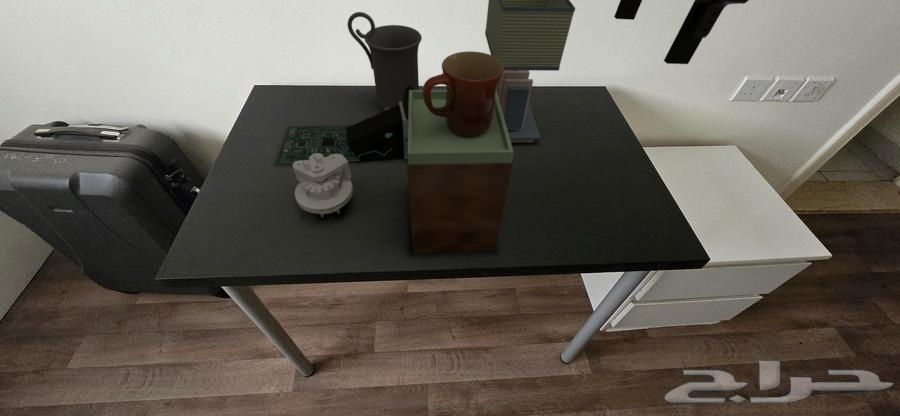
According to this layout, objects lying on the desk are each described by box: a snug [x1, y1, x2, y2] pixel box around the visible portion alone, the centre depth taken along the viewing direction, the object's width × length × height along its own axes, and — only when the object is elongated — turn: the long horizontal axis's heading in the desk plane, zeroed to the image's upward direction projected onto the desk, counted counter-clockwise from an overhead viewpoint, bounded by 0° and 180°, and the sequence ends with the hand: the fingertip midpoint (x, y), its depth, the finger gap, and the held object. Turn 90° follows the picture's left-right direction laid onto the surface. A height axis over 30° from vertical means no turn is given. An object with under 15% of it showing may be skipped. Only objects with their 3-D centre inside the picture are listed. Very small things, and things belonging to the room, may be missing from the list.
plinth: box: [406, 103, 514, 255], centre depth 67 cm, size 16×18×22 cm
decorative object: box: [346, 86, 415, 162], centre depth 83 cm, size 8×18×15 cm, turn 102°
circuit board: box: [278, 125, 361, 164], centre depth 90 cm, size 14×20×1 cm
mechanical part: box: [292, 153, 354, 218], centre depth 72 cm, size 11×12×12 cm
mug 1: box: [347, 11, 423, 112], centre depth 93 cm, size 19×15×25 cm
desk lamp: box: [484, 0, 576, 144], centre depth 86 cm, size 18×14×33 cm
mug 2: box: [422, 50, 504, 137], centre depth 55 cm, size 12×9×10 cm
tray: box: [408, 89, 515, 165], centre depth 59 cm, size 15×17×2 cm
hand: (647, 38), depth 47 cm, fingers open, 13 cm apart
